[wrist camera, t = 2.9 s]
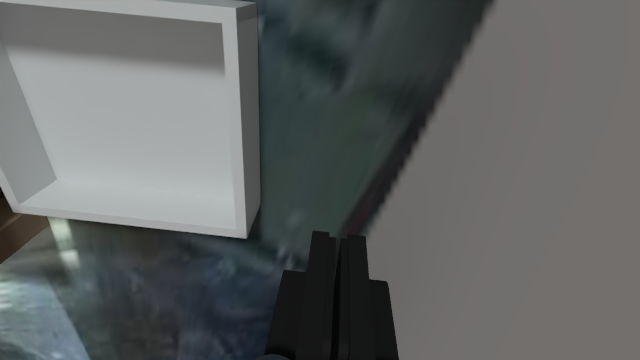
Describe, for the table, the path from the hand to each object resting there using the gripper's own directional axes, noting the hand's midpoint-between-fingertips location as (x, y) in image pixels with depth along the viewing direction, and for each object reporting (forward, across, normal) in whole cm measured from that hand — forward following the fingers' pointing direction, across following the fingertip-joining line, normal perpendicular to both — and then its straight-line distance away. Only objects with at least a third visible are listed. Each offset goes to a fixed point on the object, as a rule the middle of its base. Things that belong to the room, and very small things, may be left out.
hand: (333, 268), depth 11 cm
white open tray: (+10, +12, -1) cm, 16 cm away
